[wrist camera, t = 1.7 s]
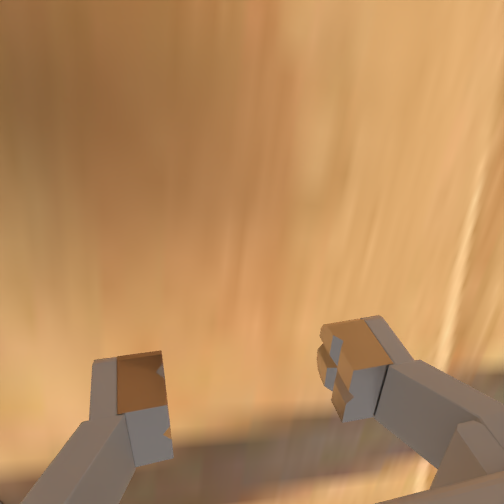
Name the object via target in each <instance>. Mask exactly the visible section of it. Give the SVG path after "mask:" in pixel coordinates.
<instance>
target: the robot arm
mask: <svg viewBox="0 0 504 504" xmlns="http://www.w3.org/2000/svg"><path fill="white" fill-rule="evenodd" d="M320 338H321V340H322V342H323V344H322V345H321V346H320V347H319V348H318V352H317V366H318V371H319V374H320V378H321V380H322V382H323V384H324V386H325V387H327V388H328V389H330V390H331V391H333V393H332V399H331V401H332V403H333V405H334V407H335V409H336V411H337V413H338V415H339V417H340V419H341V421H342V423H343V422H348V421H354V420H359V419H365V418H371V417H375V418H374V419H375V420H377V421H378V422H379V423H380V424H382V425H383V426H384V427H385V428H387V429H388V430H389V431H390V432H392V433H393V434H394V435H396V436H397V437H398V438H399V439H401V440H402V441H403V442H404V443H406V444H407V445H408V446H409V447H411V448H412V449H413V450H414V451H416V452H417V453H418V454H419V455H421V456H422V457H423V458H424V459H426V460H427V461H428V462H429V463H431V464H432V465H433V466H434V467H436V468H437V469H438V470H437V473H436V475H435V477H434V480H433V482H432V484H431V487H430V489H429V490H426V491H422V492H418V493H414V494H411V495H407V496H403V497H399V498H395V499H391V500H387V501H383V502H379V503H375V504H504V404H502V403H500V402H499V401H497V400H495V399H493V398H491V397H489V396H487V395H485V394H484V393H482V392H480V391H478V390H476V389H474V388H472V387H470V386H469V385H467V384H465V383H463V382H461V381H459V380H457V379H455V378H454V377H452V376H450V375H448V374H446V373H444V372H442V371H440V370H439V369H437V368H435V367H433V366H431V365H429V364H427V363H425V362H423V361H422V360H414V359H413V358H412V356H411V355H410V354H409V352H408V351H407V350H406V348H405V347H404V346H403V344H402V343H401V341H400V340H399V339H398V337H397V336H396V335H395V333H394V332H393V331H392V329H391V328H390V327H389V325H388V324H387V323H386V321H385V320H384V319H383V317H381V316H379V315H377V316H371V317H366V318H360V319H354V320H348V321H342V322H336V323H330V324H324V325H323V326H322V328H321V331H320ZM172 458H174V457H173V448H172V438H171V429H170V419H169V411H168V402H167V393H166V385H165V376H164V368H163V359H162V351H153V352H146V353H138V354H131V355H123V356H118V357H112V358H104V359H97V360H94V362H93V365H92V379H91V396H90V413H89V421H85V422H82V423H81V424H80V425H79V427H78V428H77V429H76V431H75V432H74V433H73V435H72V436H71V437H70V438H69V440H68V441H67V442H66V444H65V445H64V446H63V448H62V449H61V450H60V452H59V453H58V454H57V456H56V457H55V458H54V460H53V461H52V462H51V464H50V465H49V466H48V467H47V469H46V470H45V471H44V473H43V474H42V475H41V477H40V478H39V479H38V481H37V482H36V483H35V485H34V486H33V487H32V489H31V490H30V491H29V492H28V494H27V495H26V496H25V498H24V499H23V500H22V502H21V503H20V504H119V502H120V500H121V498H122V496H123V494H124V492H125V490H126V488H127V486H128V484H129V482H130V480H131V478H132V476H133V474H134V472H135V467H138V466H142V465H147V464H151V463H155V462H159V461H163V460H167V459H172Z"/></svg>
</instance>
